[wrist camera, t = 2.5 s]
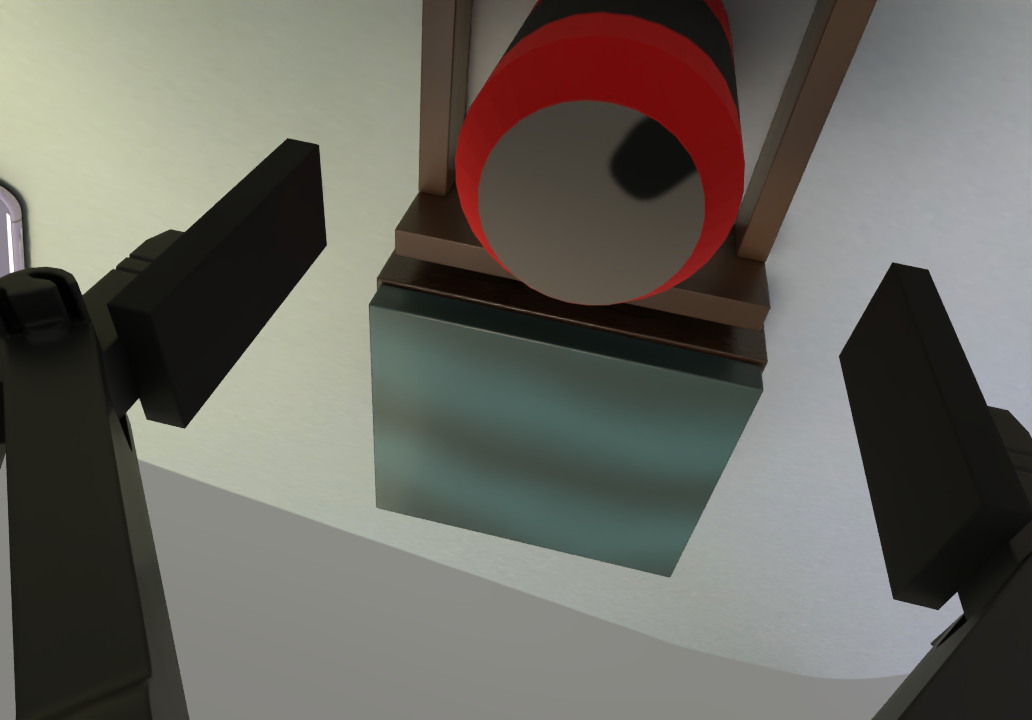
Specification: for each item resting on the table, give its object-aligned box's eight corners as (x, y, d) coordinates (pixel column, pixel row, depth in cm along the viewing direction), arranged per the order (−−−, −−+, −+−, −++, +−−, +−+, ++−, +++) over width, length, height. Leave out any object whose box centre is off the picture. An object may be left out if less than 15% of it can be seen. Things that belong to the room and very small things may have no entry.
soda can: (775, 54, 25) (815, 221, 16) (621, 187, 30) (588, 373, 21) (630, -115, 23) (586, -27, 14) (487, 57, 27) (385, 206, 18)
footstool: (416, 211, 33) (362, 299, 27) (759, 282, 31) (771, 387, 26) (412, 416, 42) (371, 509, 37) (676, 475, 41) (673, 581, 36)
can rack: (449, -222, 22) (393, -215, 18) (915, -147, 21) (967, -121, 17) (434, 190, 32) (394, 255, 28) (751, 254, 31) (759, 332, 27)
